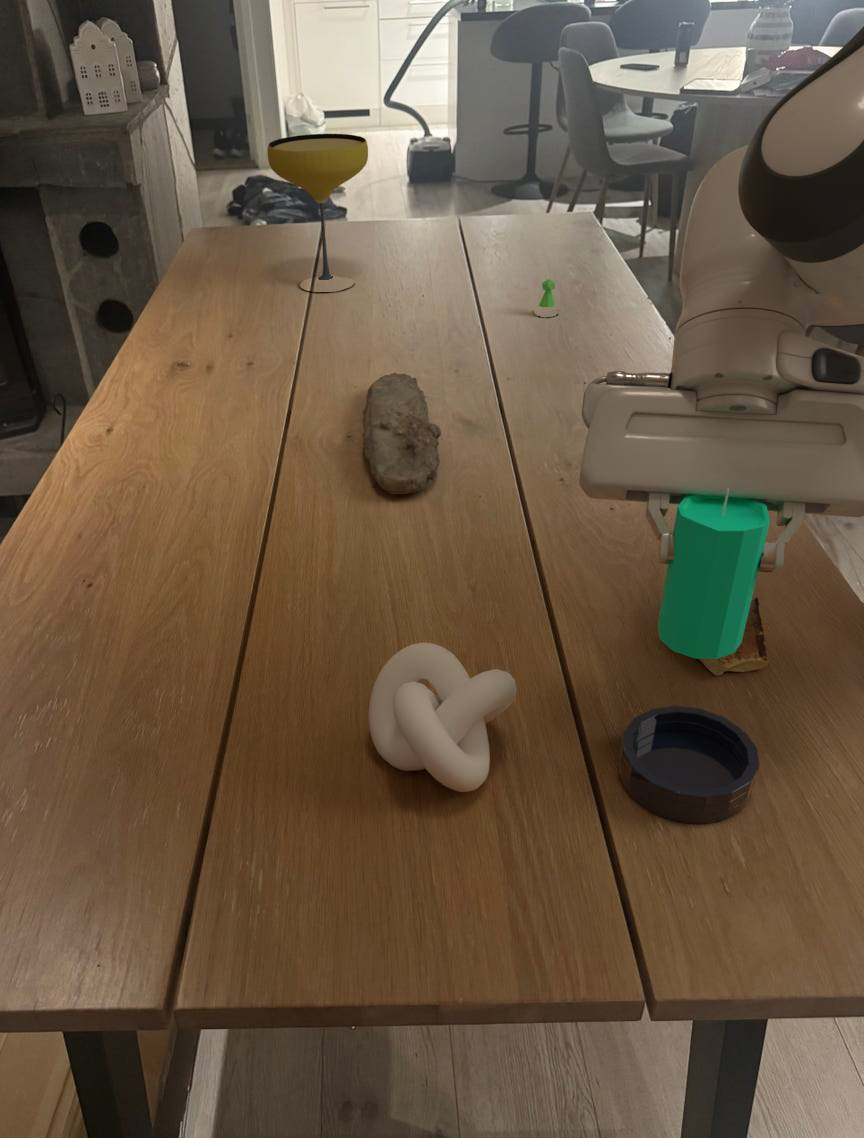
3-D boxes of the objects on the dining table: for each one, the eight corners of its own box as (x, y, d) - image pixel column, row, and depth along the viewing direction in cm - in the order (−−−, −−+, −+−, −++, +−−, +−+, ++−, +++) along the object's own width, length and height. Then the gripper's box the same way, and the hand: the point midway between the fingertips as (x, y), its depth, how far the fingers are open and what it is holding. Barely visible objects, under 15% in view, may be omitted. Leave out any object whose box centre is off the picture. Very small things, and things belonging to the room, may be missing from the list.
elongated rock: (427, 396, 143) (361, 403, 144) (425, 361, 140) (358, 368, 141) (450, 495, 114) (367, 503, 114) (448, 453, 111) (363, 462, 111)
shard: (754, 609, 94) (758, 594, 93) (816, 649, 89) (821, 634, 88) (670, 643, 90) (673, 628, 89) (730, 687, 85) (733, 672, 84)
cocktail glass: (276, 276, 192) (262, 137, 178) (365, 268, 195) (358, 130, 180) (285, 303, 178) (271, 154, 163) (380, 294, 180) (375, 147, 165)
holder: (768, 763, 77) (776, 735, 76) (724, 844, 71) (732, 815, 69) (648, 717, 82) (653, 690, 80) (597, 789, 76) (601, 761, 74)
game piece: (529, 314, 168) (531, 279, 165) (545, 308, 171) (547, 273, 167) (548, 319, 166) (550, 284, 162) (564, 313, 168) (566, 278, 164)
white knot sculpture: (468, 691, 86) (471, 609, 80) (548, 773, 77) (557, 687, 72) (356, 734, 82) (350, 651, 76) (427, 826, 73) (426, 739, 68)
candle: (708, 670, 67) (740, 521, 60) (640, 632, 71) (662, 487, 64) (758, 636, 70) (794, 490, 63) (690, 601, 74) (717, 460, 67)
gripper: (587, 351, 67) (567, 543, 65) (903, 364, 63) (891, 569, 61) (584, 387, 73) (566, 564, 71) (872, 402, 69) (860, 589, 67)
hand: (719, 566), depth 66 cm, fingers closed on candle, 5 cm apart
